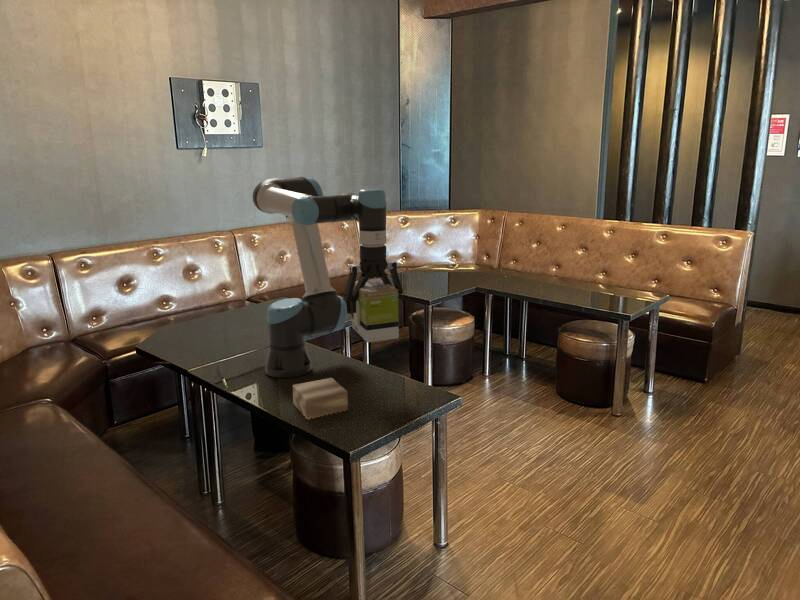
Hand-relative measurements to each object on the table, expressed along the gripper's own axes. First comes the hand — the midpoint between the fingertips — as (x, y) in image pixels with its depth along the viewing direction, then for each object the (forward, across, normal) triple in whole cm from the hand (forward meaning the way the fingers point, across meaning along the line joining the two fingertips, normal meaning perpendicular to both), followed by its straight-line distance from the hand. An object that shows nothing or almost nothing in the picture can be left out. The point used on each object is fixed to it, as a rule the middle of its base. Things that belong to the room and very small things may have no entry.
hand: (374, 320), depth 174 cm
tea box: (+4, 0, 0) cm, 4 cm away
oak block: (+23, -18, -1) cm, 29 cm away
